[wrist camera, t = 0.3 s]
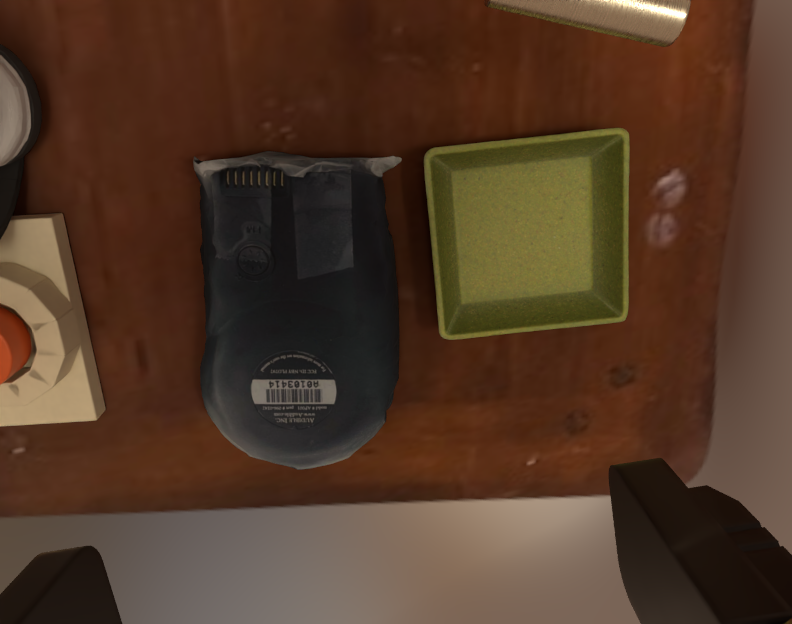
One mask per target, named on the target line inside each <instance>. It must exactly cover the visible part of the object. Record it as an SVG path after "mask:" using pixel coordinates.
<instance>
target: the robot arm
mask: <svg viewBox="0 0 792 624" xmlns="http://www.w3.org/2000/svg"><path fill="white" fill-rule="evenodd" d="M609 486H610V494H611V503H612V511H613V520H614V528H615V537H616V545H617V554H618V561H619V567H620V571H621V575H622V579H623V583H624V586H625V589H626V592H627V595H628V598H629V600H630V603H631V605H632V607H633V609H634V611H635V613H636V615H637V617H638V619H639V620H640V623H641V624H792V555H791V554H790V553H789V552H788V551H787V550H786V549H785V548H784V547H783V546H781V547H780V546H779V543H778V541H777V540H776V539H775V538H774V537H773V536H772V534H771V533H770V532H769V531H768V530H767V529H766V528H765V527H763V528H762V527H761V525H760V522H759V521H758V520H757V519H756V518H755V517H754V516H753V515H752V514H751V513H750V512H749V511H748V510H747V509H746V508H745V507H744V506H743V505H742V504H741V503H740V502H739V501H737V500H735V499H733V498H731V497H729V496H727V495H725V494H723V493H721V492H719V491H717V490H715V489H713V488H711V487H709V486H707V485H706V486H700V487H694V488H688V487H687V486H686V485H685V484H684V483H683V482H682V480H681V479H680V478H679V477H678V476H677V475H676V474H675V472H674V471H673V470H672V469H671V468H670V467H669V465H668V464H667V463H666V462H665V461H664V460H663V459H661V458H656V459H650V460H643V461H637V462H631V463H624V464H618V465H611V466H610V468H609ZM0 624H122V622H121V618H120V615H119V612H118V609H117V605H116V602H115V599H114V595H113V592H112V589H111V586H110V583H109V580H108V576H107V573H106V570H105V567H104V563H103V560H102V557H101V555H100V553H99V552H98V551H97V549H95V548H94V547H92V546H83V547H76V548H70V549H63V550H57V551H51V552H44V553H41V554H39V555H37V556H36V557H35V558H34V559H33V560H32V561H31V562H30V563H29V564H28V565H27V566H26V567H25V569H24V570H23V571H22V572H21V573H20V574H19V575H18V576H17V577H16V578H15V579H14V580H13V581H12V583H10V585H9V586H8V587H7V588H6V589H5V590H4V591H3V592H2V593H1V594H0Z"/></svg>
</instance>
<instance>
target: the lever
mask: <svg viewBox="0 0 792 624" xmlns="http://www.w3.org/2000/svg"><path fill="white" fill-rule="evenodd" d="M690 3H691V0H485V6H487V7H489V8H494V9H498V10H502V11H507V12H511V13H516V14H520V15H525V16H529V17H533V18H538V19H542V20H547V21H551V22H556V23H560V24H564V25H569V26H573V27H578V28H582V29H587V30H591V31H595V32H600V33H604V34H609V35H613V36H618V37H622V38H626V39H631V40H635V41H640V42H644V43H649V44H653V45H657V46H662V47H667V46H670V45H671V44H672V43H673V42H674V41H675V40H676V39H677V37H678V36H679V34H680V32H681V31H682V29H683V26H684V24H685V22H686V19H687V16H688V13H689V9H690Z"/></svg>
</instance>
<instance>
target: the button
mask: <svg viewBox="0 0 792 624" xmlns="http://www.w3.org/2000/svg"><path fill="white" fill-rule="evenodd" d="M30 354H31V338H30V335H29V332H28V330H27V328H26V327H25V325H24V324H23V322H22V321H21V320H20V319H19V318H18V317H17V316H16V315H14V314H13V313H12V312H10V311H9V310H7V309H5V308H2V307H0V385H1V384H2V383H4V382H5V381H6V380H7V379H9V378H10V377H11V376H12V375H14V374H15V373H16V372H17V371H19V370H20V369H21V368H23V366H24V365H25V364H26V363H27V361H28V359H29V357H30Z"/></svg>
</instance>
